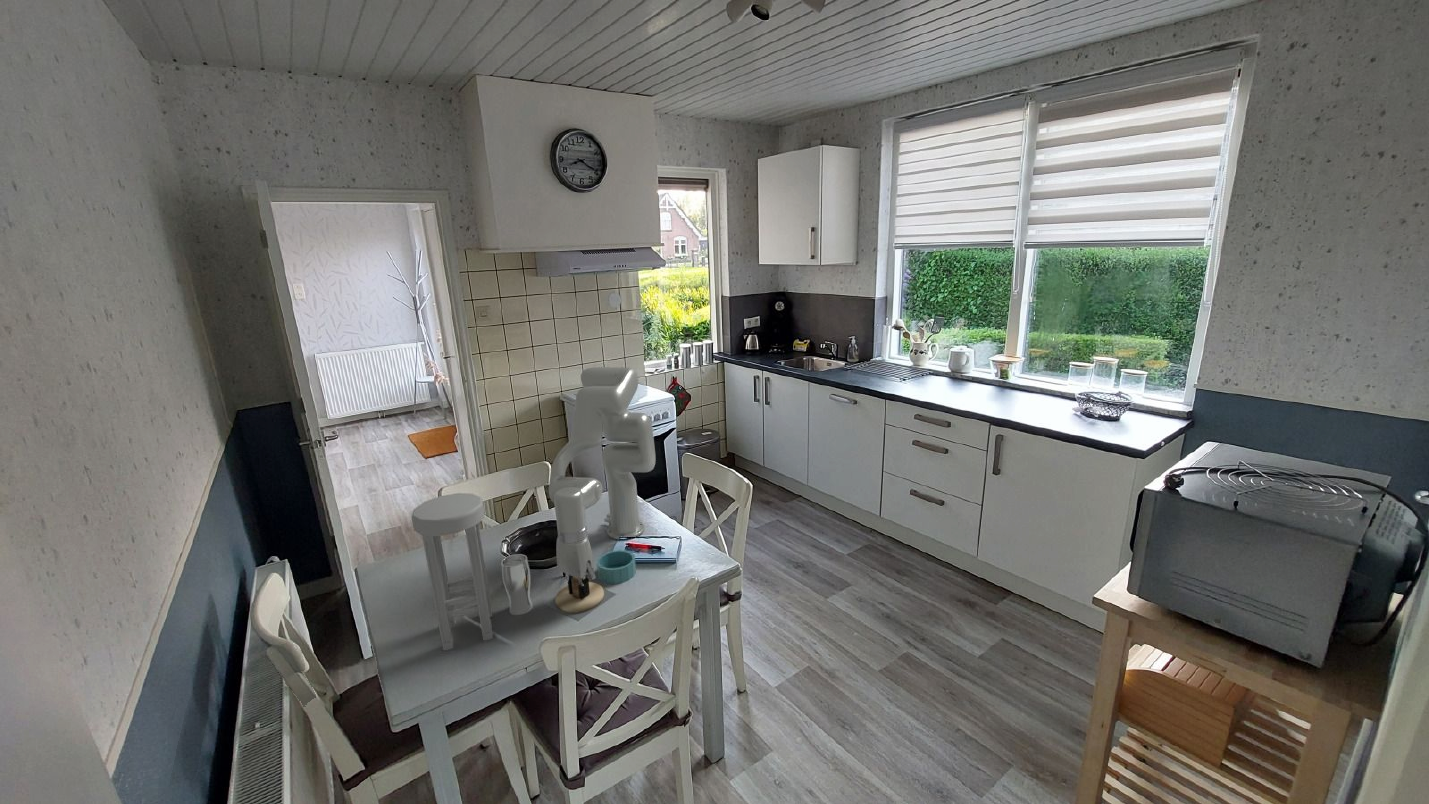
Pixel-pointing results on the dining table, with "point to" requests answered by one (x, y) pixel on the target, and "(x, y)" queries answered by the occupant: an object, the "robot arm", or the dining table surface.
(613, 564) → the bowl
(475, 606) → the stool
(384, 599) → the dining table surface
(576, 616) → the mat
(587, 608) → the lid
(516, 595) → the beer glass
